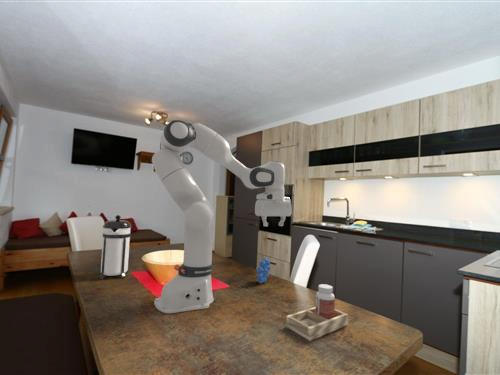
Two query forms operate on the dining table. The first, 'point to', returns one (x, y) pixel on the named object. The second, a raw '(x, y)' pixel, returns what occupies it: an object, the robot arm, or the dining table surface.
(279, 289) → the dining table surface
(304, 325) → the tray
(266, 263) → the grapes
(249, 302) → the dining table surface
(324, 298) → the pill bottle
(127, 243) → the coffee press
